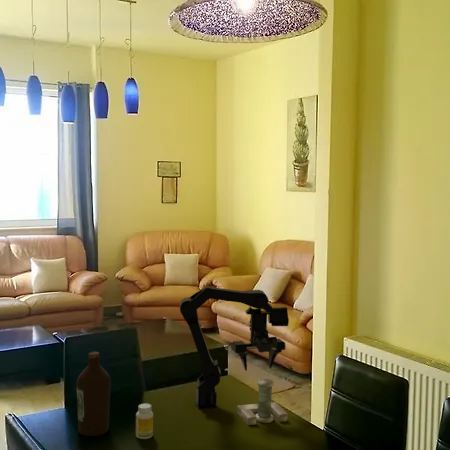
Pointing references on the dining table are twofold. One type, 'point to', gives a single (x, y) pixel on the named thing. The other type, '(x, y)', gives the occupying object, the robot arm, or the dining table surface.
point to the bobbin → (264, 401)
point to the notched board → (252, 409)
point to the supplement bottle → (144, 422)
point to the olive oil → (93, 398)
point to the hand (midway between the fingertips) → (257, 369)
